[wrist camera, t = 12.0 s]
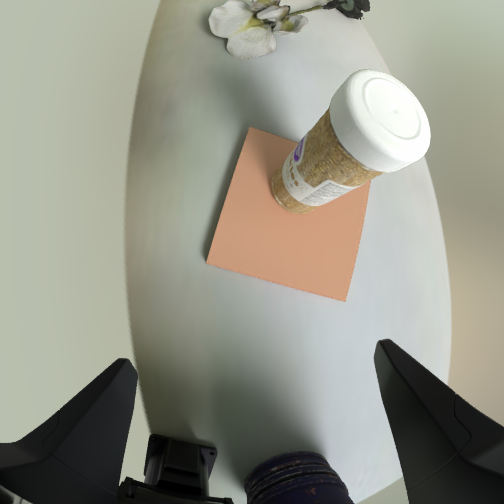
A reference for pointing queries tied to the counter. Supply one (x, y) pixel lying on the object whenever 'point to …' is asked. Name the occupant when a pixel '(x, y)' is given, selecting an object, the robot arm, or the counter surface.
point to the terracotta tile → (286, 227)
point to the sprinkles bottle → (353, 142)
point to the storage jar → (295, 481)
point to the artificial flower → (266, 23)
